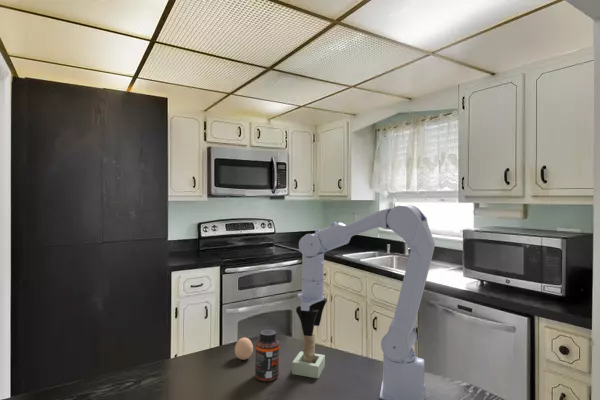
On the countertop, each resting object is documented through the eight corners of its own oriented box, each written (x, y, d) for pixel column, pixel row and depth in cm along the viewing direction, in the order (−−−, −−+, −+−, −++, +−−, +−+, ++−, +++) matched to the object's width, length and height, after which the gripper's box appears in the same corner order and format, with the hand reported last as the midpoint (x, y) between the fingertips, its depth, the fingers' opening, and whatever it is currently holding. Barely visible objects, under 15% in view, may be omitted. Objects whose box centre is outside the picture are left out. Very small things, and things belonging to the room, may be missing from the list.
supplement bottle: (275, 384, 86) (276, 337, 86) (251, 381, 87) (252, 335, 87) (281, 372, 92) (282, 329, 92) (259, 369, 93) (260, 326, 93)
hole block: (324, 366, 96) (325, 355, 96) (318, 378, 89) (318, 366, 89) (300, 362, 98) (300, 351, 98) (292, 373, 91) (292, 362, 91)
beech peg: (315, 368, 95) (316, 334, 95) (312, 373, 92) (313, 338, 92) (304, 366, 96) (305, 333, 95) (301, 371, 93) (302, 337, 93)
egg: (235, 355, 102) (235, 334, 102) (253, 354, 102) (253, 334, 102) (233, 363, 97) (234, 341, 97) (252, 362, 97) (253, 341, 97)
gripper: (305, 272, 102) (305, 319, 102) (289, 283, 88) (288, 338, 88) (329, 274, 100) (329, 322, 100) (317, 286, 86) (316, 342, 86)
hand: (311, 330), depth 94 cm, fingers open, 7 cm apart
